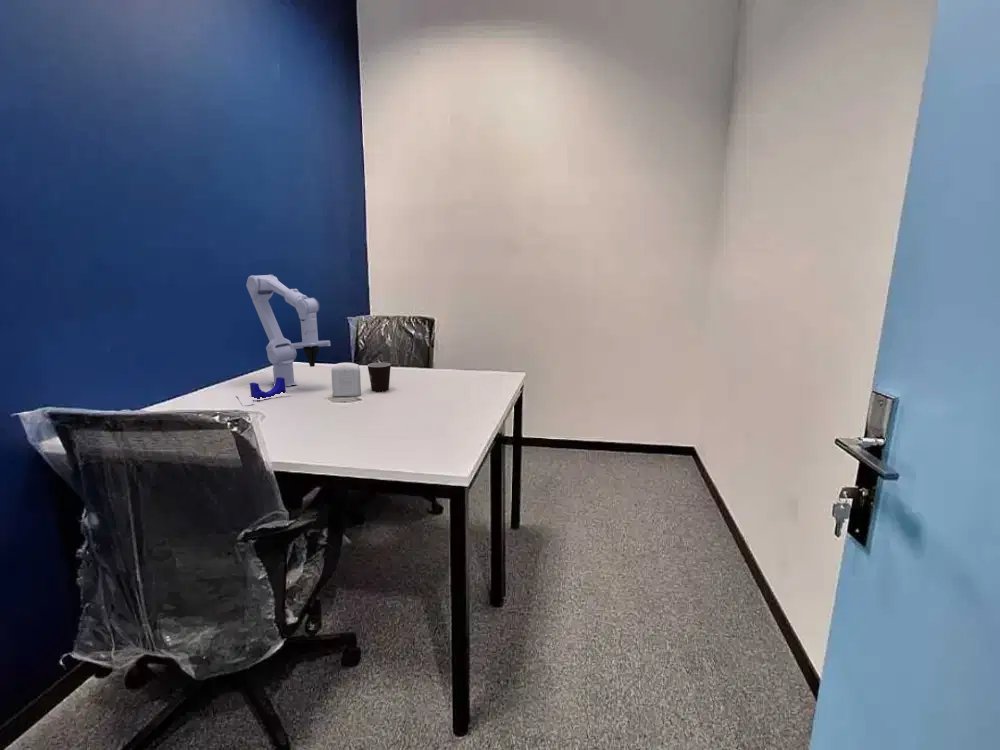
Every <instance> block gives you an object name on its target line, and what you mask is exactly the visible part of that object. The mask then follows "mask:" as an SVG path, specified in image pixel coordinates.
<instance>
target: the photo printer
mask: <svg viewBox="0 0 1000 750" xmlns="http://www.w3.org/2000/svg"><path fill="white" fill-rule="evenodd" d="M361 388H362V387H361V368H360V365H359V364H357V363H353V362H339V363H335V364H333V365H332V366H331V389H332V396H333V397H357V396H358V397H359V396H360V397H361V396H362V389H361Z"/></svg>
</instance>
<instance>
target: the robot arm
mask: <svg viewBox="0 0 1000 750" xmlns="http://www.w3.org/2000/svg"><path fill="white" fill-rule="evenodd" d="M246 289H247V291H248V294H249V295H250V298H251V299H252V300H251V301H252V304H253V307H254V308H255V310H256V312H257V315H258V318H259V320H260V323H261V324H262V326H263V329H264V332H265V334H266V336H267V338H268V341H269V342H268V344H267V345H266V346H265V350H266V353H267V359H268V361H269V363H271V365H272V371H273V372H272V374H273V381H272V382H271V384H272V383H274V384H275V383H276V378H278V377H282V378H285V386H288V387H292V386H291V385H296V386H298V384H297V383H296V381H295V375H294V362H295V360H296V358H297V354H298V353H297V349H298V350H299V349H302V350H303V353H304V355H305V356H306V359H307V361H308V363H309V367H310V368H312V367H315V366H316V359H317V356H318V354H319V352H320V348H319V347H331V340H319V333H318V332H319V331H318V319H317V313H318V312H319V310H320V303H319V301H318V300H317V299H316V297H308V296H307V295H306V294H303V293H302V292H300V291H299V289H297V288H288V287H287V286H286V285H284V284H283V283H282V282H280V281H279V279H278V277H277V276H274V274H271V273H269V274H266V275H265V274H263V275H261V274H258V275H250V276H248V278H247V281H246ZM274 293H276V294H278V295H280V296H281V297H283V298H284V301H285V302H286V303H287V304H289V305H290V306H293V307H294V308H295V310H296V313H297V314H298V318H299V320H300V330H301V339H302V340H301V342H300V341H299V342H294V343H292V342H291V340H289V339H288V338H285V337H284V334H283V332H282V331H281V328H280V326H279V324H278V321H277V319H276V317H275V314H274V312H273V308H272V306H271V304H270V302H269V300H270V299H271V298H272V296H273V294H274Z"/></svg>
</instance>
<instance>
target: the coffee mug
mask: <svg viewBox="0 0 1000 750" xmlns="http://www.w3.org/2000/svg"><path fill="white" fill-rule="evenodd" d="M391 364H392V363H389V362H373V363H368V364H367V371H368V375H369V376H368V377H369V382H370V388H371V391H372V393H385V392H388V391H389V390H390V382H391V381H390V380H391V379H390V377H391Z"/></svg>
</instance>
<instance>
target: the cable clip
mask: <svg viewBox="0 0 1000 750" xmlns="http://www.w3.org/2000/svg"><path fill="white" fill-rule="evenodd" d="M249 388H250V390H249V391H250V397H254V398H257V399H260V397H262V398H266V397H271V396H274V395H275V394H280V393H281V392H283V393H285V392H286V391H287V390H286V387H285V378H282V377H278V378H276V383H275V386H274V385H273V387H272V388H271V389H270V390H268V391H264V390H262V389H261V387H260V385H259V383H258V382H250V383H249ZM286 393H287V392H286Z"/></svg>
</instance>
